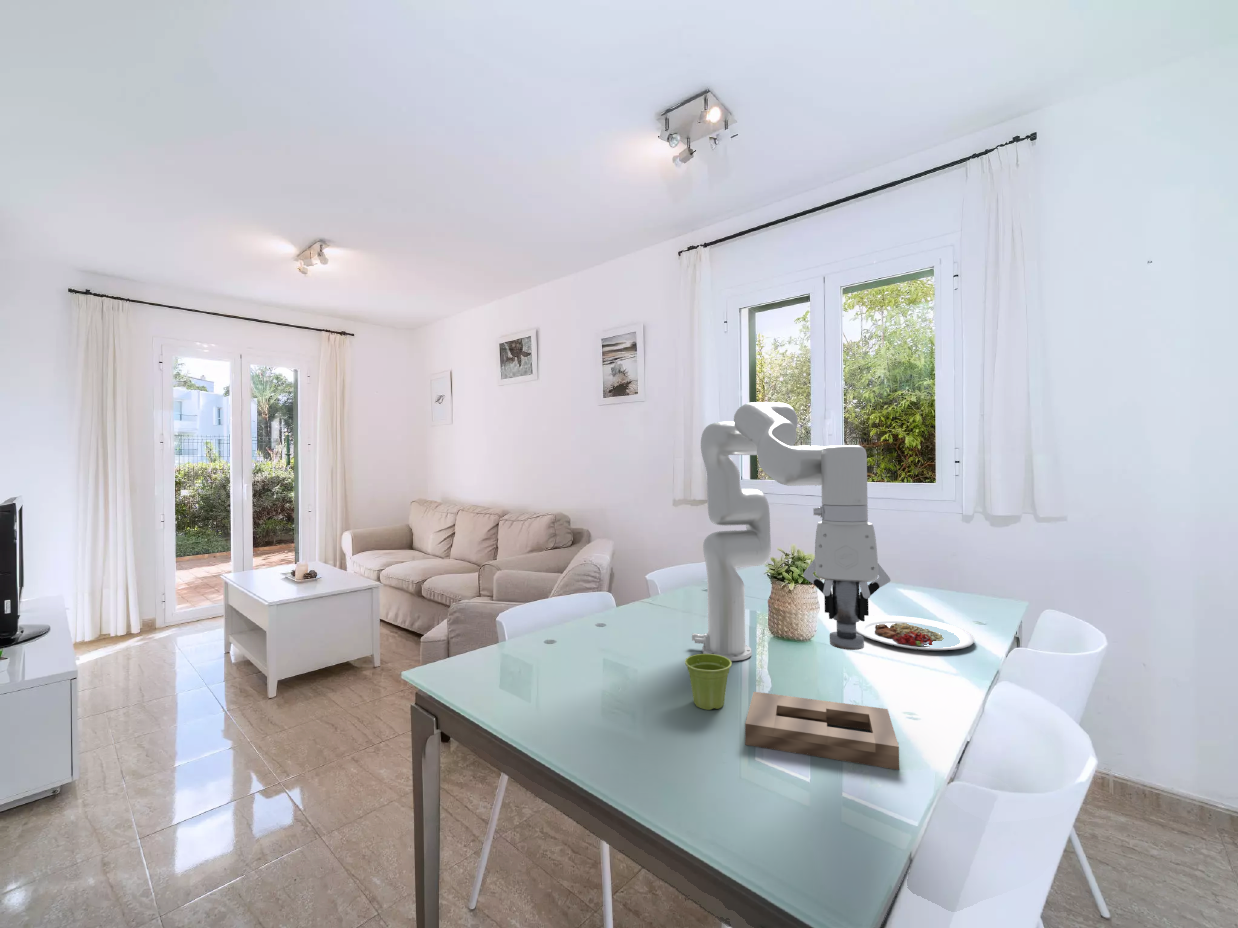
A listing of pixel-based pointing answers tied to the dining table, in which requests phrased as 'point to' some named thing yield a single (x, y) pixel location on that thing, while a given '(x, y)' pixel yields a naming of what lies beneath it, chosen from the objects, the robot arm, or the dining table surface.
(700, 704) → the plant pot
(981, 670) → the dining table surface
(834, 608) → the peg
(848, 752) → the keyhole plate
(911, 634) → the plated food
